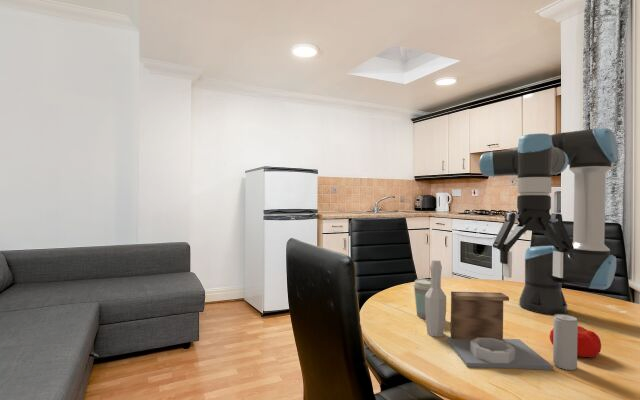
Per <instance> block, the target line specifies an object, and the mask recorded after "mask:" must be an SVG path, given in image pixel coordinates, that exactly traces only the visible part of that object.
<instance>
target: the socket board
mask: <svg viewBox="0 0 640 400" xmlns="http://www.w3.org/2000/svg"><path fill="white" fill-rule="evenodd" d="M446 341H447V343H448V344H449V345H450V347H451V348H452V349H453V351H454V352H455V354H456V355H457V356H458V357H459V358H460V360H461V361H462V362H463V363H464V365H465V366H466V368H490V369H517V370H519V369H521V370H545V371H548V370H550V371H553V369H554V365H552V363H550V362H549V361H548V360H546V359H545V358H544V357H542V356H541V355H540V354H539V353H538V352H536V351H535V350H534V349H532V348H531V347H530V346H529V345H527V344H526V343H525V342H523V341H522V340H521V339H519V338H503V340H498V339H494V338H479V337H477V338H475V339H452V338H451V336H447V337H446Z"/></svg>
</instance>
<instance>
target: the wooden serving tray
mask: <svg viewBox="0 0 640 400" xmlns="http://www.w3.org/2000/svg"><path fill="white" fill-rule="evenodd" d="M505 301H506V302H509V301H510V297H509V296H508V295H506V294H504V292H486V291H485V292H483V291H482V292H481V291H479V292H478V291H450V337H451V338H452V339H475V338H477V337H479V338H494V339H498V340H503V339H504V302H505Z"/></svg>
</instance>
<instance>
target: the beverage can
mask: <svg viewBox="0 0 640 400" xmlns="http://www.w3.org/2000/svg"><path fill="white" fill-rule="evenodd" d="M553 316H554V317H553V328H554V335H553V344H552V346H553V347H552V348H553V351H552V352H553V353H552V356H553V357H552V359H553V360H552V362H553V364H554V366H556V367H557V368H559V369H561V368H562V369H561V370H564V369H565V371H574V370H576V369H577V368H578V356H577V334H578V326H579V323H578V322H579V321H578V319H577V317H576V316H572V315H569V314H565V313H564V314H553Z"/></svg>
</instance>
